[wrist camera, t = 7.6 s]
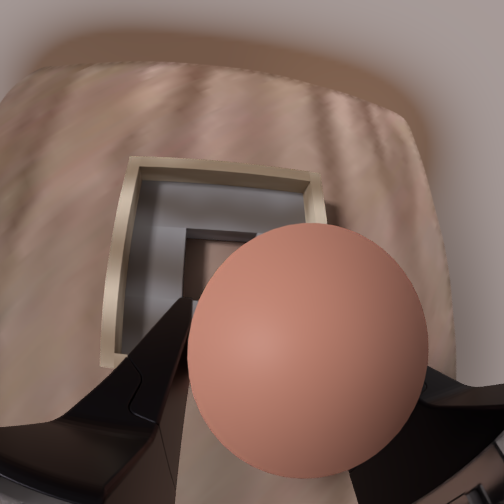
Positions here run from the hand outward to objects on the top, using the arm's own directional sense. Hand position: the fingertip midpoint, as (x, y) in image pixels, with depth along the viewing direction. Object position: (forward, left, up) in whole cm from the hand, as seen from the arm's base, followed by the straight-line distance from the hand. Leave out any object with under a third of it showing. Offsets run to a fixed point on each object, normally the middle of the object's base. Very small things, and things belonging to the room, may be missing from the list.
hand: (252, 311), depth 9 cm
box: (-5, +3, -14) cm, 15 cm away
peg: (+1, -1, -7) cm, 7 cm away
